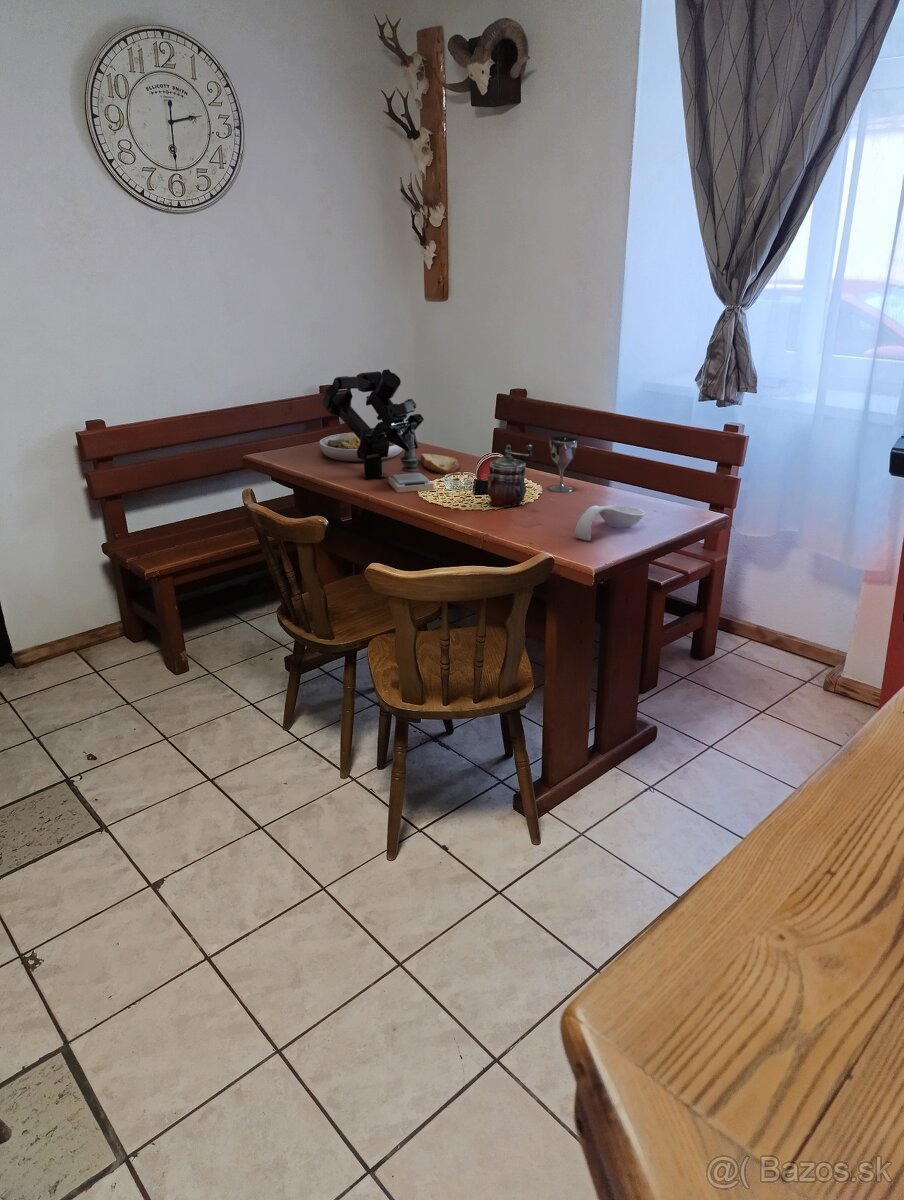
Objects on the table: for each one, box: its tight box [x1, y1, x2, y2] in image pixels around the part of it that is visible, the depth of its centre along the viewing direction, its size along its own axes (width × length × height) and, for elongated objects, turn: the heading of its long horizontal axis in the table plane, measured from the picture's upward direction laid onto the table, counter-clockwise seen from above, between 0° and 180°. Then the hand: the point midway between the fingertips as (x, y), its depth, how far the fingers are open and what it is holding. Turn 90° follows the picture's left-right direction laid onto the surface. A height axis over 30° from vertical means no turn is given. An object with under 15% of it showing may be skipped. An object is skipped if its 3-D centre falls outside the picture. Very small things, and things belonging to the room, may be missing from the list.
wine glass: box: [548, 436, 578, 493], centre depth 242 cm, size 8×8×15 cm
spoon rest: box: [573, 504, 646, 541], centre depth 207 cm, size 24×12×7 cm, turn 137°
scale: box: [388, 472, 434, 494], centre depth 248 cm, size 12×11×3 cm
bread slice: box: [419, 453, 460, 475], centre depth 271 cm, size 18×18×4 cm
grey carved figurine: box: [399, 431, 420, 473], centre depth 245 cm, size 6×6×12 cm
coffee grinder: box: [486, 444, 534, 508], centre depth 227 cm, size 13×15×18 cm
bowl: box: [318, 432, 404, 463], centre depth 288 cm, size 30×30×8 cm
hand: (413, 449), depth 244 cm, fingers closed on grey carved figurine, 3 cm apart
